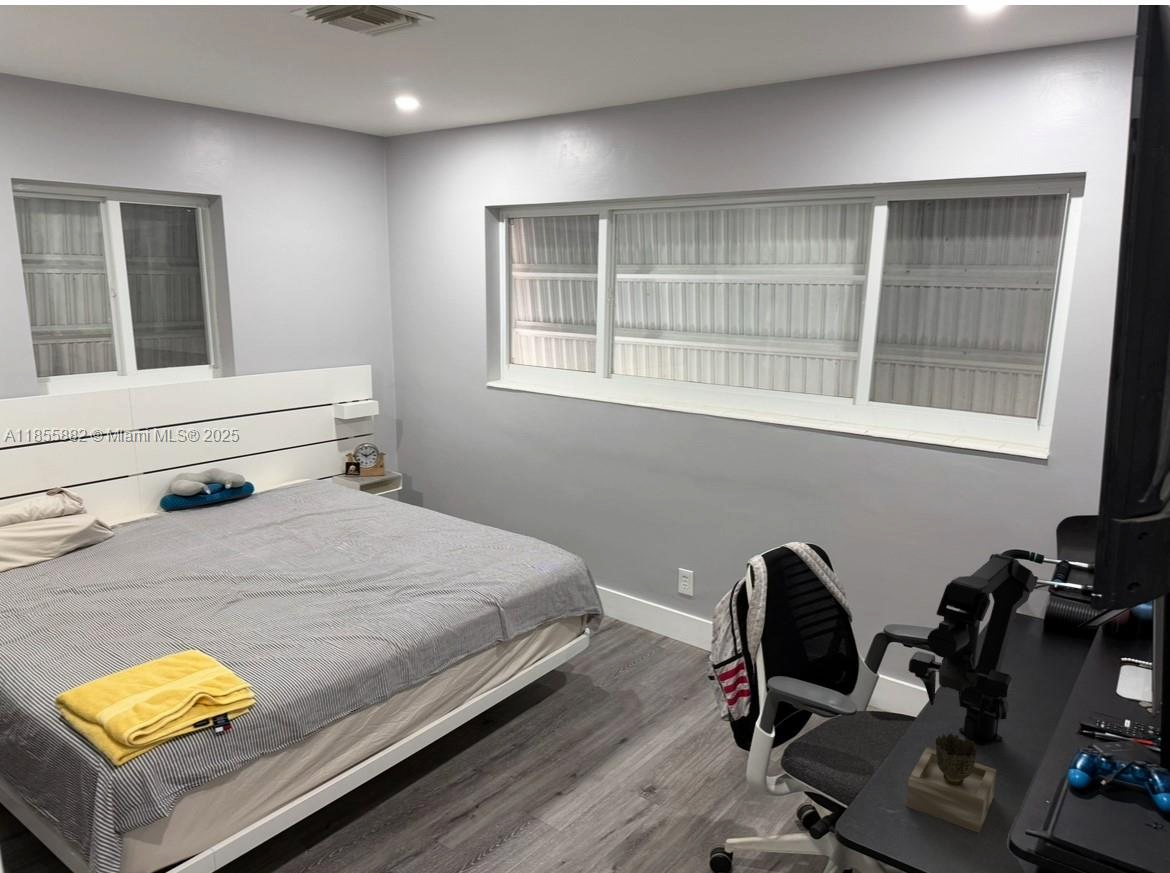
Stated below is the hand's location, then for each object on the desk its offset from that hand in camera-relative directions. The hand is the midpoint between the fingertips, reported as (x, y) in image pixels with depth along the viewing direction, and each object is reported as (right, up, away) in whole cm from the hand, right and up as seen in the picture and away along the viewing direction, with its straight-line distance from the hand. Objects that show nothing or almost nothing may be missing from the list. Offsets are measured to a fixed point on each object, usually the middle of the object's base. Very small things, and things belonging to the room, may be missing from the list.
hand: (955, 711), depth 168 cm
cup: (-6, -10, -11) cm, 16 cm away
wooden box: (-6, -14, -10) cm, 18 cm away
